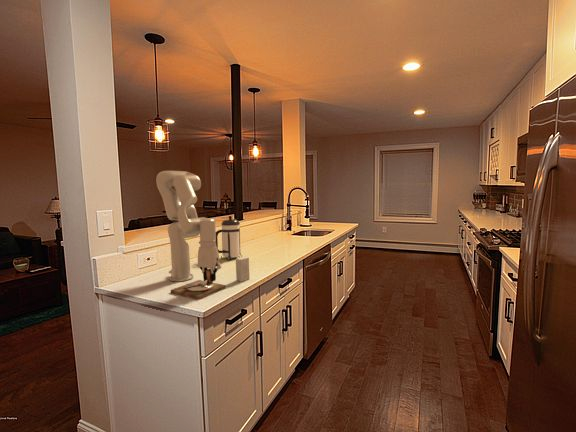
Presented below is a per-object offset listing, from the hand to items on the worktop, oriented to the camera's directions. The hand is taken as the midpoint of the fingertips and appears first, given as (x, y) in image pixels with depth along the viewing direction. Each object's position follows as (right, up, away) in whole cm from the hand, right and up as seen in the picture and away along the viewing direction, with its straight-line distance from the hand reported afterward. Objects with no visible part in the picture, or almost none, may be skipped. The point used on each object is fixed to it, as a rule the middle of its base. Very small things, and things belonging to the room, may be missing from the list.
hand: (209, 280), depth 156 cm
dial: (-5, -3, -4) cm, 6 cm away
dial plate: (-5, -5, -2) cm, 7 cm away
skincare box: (+14, -3, +14) cm, 20 cm away
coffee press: (-2, +2, +65) cm, 65 cm away
